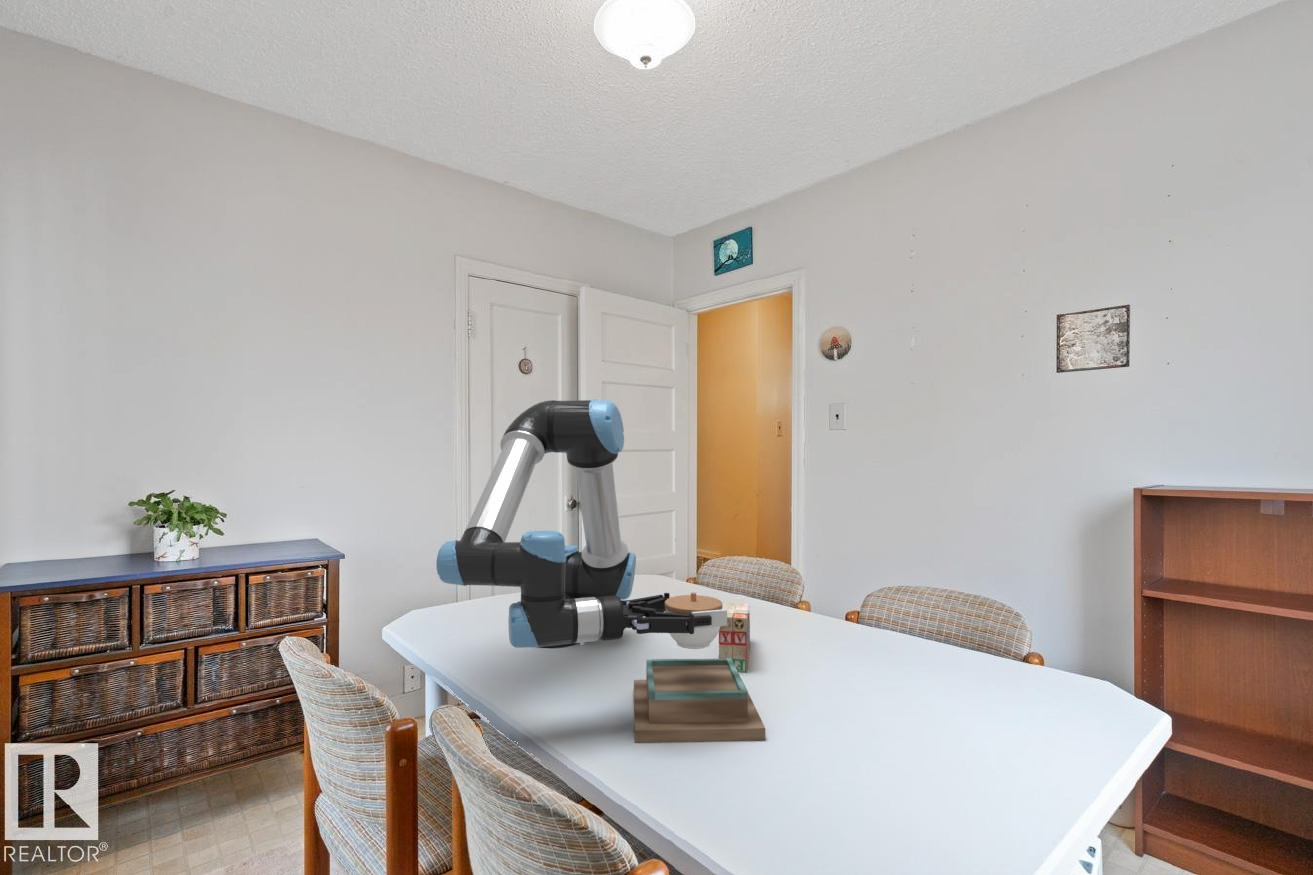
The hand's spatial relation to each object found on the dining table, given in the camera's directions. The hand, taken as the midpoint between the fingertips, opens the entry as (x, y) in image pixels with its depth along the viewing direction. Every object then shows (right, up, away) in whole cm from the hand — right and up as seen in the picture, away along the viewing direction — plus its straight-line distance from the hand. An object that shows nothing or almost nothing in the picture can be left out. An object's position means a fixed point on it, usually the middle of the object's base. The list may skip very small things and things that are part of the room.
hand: (713, 609), depth 115 cm
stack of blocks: (+8, -20, +30) cm, 36 cm away
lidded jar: (-4, -6, -1) cm, 7 cm away
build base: (-4, -19, -1) cm, 19 cm away
